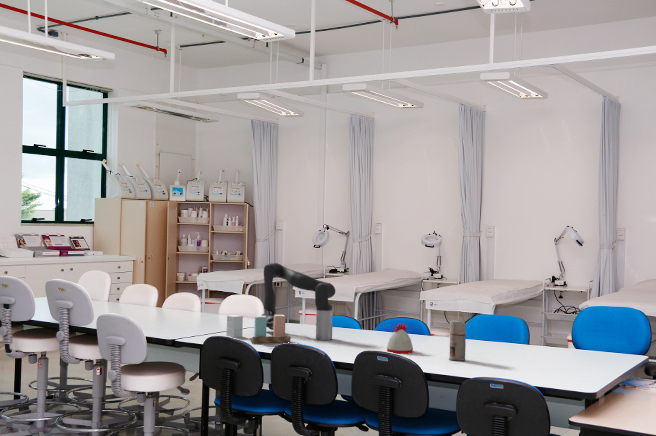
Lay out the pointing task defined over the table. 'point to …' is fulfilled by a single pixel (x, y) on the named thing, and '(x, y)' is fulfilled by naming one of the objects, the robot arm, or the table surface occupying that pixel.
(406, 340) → the grey and red dome
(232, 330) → the small box
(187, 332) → the table surface
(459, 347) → the spray can
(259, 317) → the teal rectangular block
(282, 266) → the robot arm
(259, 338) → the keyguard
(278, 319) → the salmon pink rectangular block
